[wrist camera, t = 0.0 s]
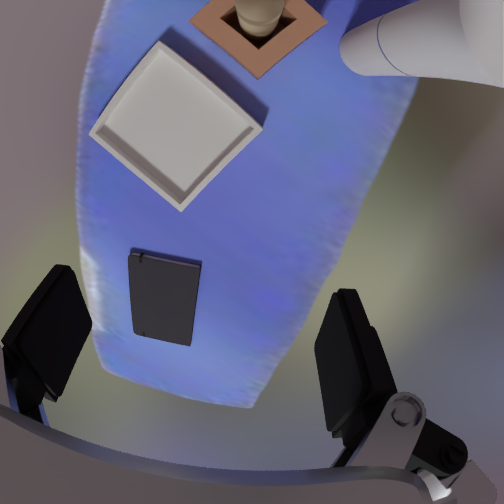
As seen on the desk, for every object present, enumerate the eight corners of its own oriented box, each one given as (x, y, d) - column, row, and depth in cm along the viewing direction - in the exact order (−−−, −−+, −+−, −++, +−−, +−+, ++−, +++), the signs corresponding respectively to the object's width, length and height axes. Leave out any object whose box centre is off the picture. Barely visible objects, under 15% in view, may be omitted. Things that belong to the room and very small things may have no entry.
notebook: (191, 341, 59) (201, 263, 47) (190, 346, 57) (200, 268, 46) (135, 328, 57) (130, 248, 46) (133, 334, 56) (127, 253, 45)
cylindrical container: (332, 32, 27) (442, -24, 6) (378, 26, 26) (511, -5, 5) (348, 79, 31) (477, 89, 10) (393, 72, 29) (535, 89, 8)
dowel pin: (257, 11, 25) (259, -25, 14) (280, 30, 27) (294, 2, 16) (234, 30, 27) (224, 1, 16) (257, 49, 28) (259, 29, 17)
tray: (164, 43, 28) (158, 40, 26) (262, 126, 35) (263, 129, 33) (96, 131, 34) (88, 134, 32) (184, 205, 41) (181, 212, 39)
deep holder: (257, -13, 24) (258, -35, 17) (313, 34, 27) (328, 22, 21) (201, 33, 28) (188, 20, 21) (257, 80, 31) (258, 78, 25)
